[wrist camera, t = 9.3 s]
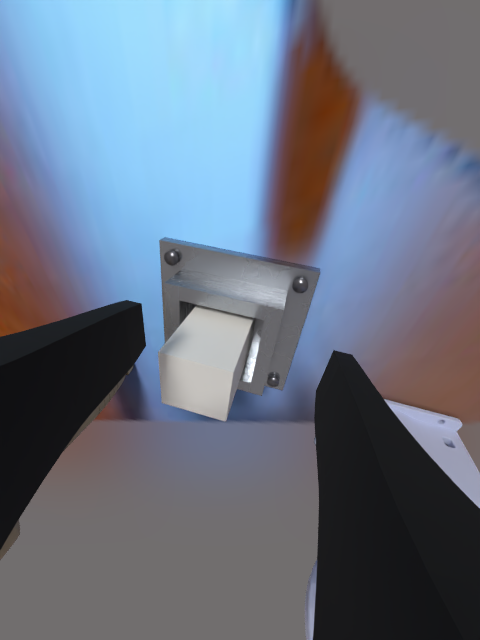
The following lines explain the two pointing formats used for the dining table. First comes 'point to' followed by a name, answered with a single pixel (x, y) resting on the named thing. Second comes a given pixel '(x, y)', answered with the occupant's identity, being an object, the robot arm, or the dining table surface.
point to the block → (205, 361)
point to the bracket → (241, 301)
